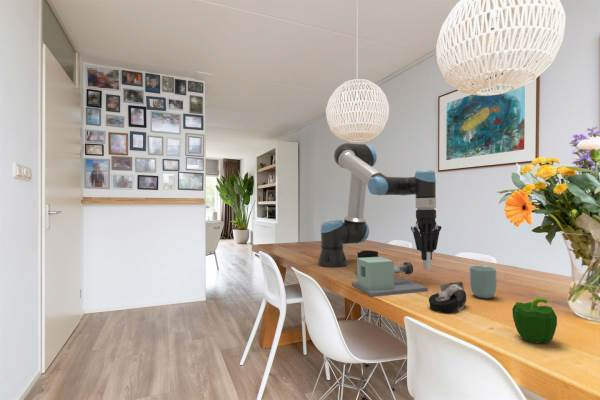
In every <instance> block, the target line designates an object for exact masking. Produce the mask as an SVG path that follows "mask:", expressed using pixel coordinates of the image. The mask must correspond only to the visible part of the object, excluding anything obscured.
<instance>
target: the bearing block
mask: <svg viewBox="0 0 600 400" xmlns="http://www.w3.org/2000/svg"><path fill="white" fill-rule="evenodd" d="M394 265H395V261H394V260H391V259H388V258H386V257H383V256H378V257H368V258H358V257H357V258H356V269H357V270H356V279H357V281H352V282H351V286H353V287H354V288H356V289H357V290H359V291H360V292H363V293H364V294H366V295H368V296H369V297H380V296H392V295H399V294H411V293H421V292H428V291H429V288H428V287H426V286H424V285H422V284H419V283H417V282H414V281H412V280H409V279H406V278H404V277H397V278H395V273H394Z"/></svg>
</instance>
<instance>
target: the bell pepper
mask: <svg viewBox="0 0 600 400" xmlns="http://www.w3.org/2000/svg"><path fill="white" fill-rule="evenodd" d="M548 301H549V300H548V299H547V298H543V297H538V298H535V299H533V300H532V301H528V302H526V303H525V302H524V303H523V302H515V304H514V305H513V307H512V309H511V310H512V318H513V322H514V326H515V328H516V332H517V333H518V335H519V336H520V337H521V339H522V340H524V341H526V342H529V343H533V344H541V343H547V344H548V343H551V342H552V341H553V339H554V336H555V333H556V329H557V326H558V316H557V314H556V312H555V311H554V309H553V307H552V306H549V305H539V303H544V304H547V303H548Z"/></svg>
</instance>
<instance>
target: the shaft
mask: <svg viewBox="0 0 600 400" xmlns="http://www.w3.org/2000/svg"><path fill="white" fill-rule="evenodd" d="M413 272H414V266H413V264H412V262H410V261H405V262H404V263H402V264H394V274H400V273H401V274H402V273H404V274H405V275H412V274H413Z"/></svg>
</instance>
